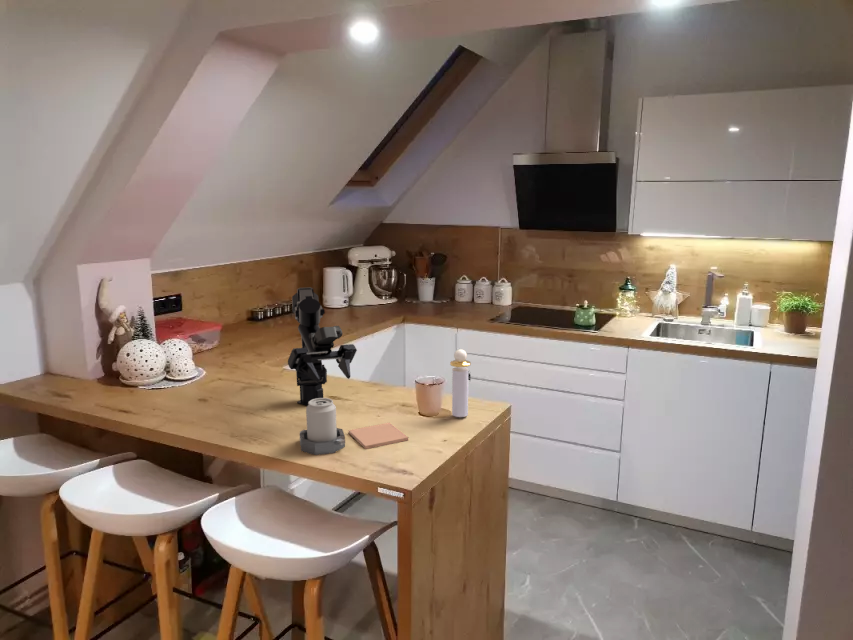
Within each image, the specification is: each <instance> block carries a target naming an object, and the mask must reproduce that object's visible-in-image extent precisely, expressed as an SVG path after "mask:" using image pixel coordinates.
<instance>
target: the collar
mask: <svg viewBox="0 0 853 640" xmlns="http://www.w3.org/2000/svg"><path fill="white" fill-rule="evenodd" d="M344 433H345V432H344V430H343V428H340V427H339V428H338V427H337V438H335V439H333V440H331V441H321V442H314V441H311V440H307V429H303V430H300V431H299V446H301V447H300V451H301V452H302V451H304V452H303V453H306V452H307V453H306V454H311V455H313V454H314V455H315V456H318V455H319V454H320V455H327V454H329V453H330V454H334V453H336V451H337V452H339V451H340V450H342V449H343V448H345V447H346V437H345V434H344ZM320 455H319V456H320Z"/></svg>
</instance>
